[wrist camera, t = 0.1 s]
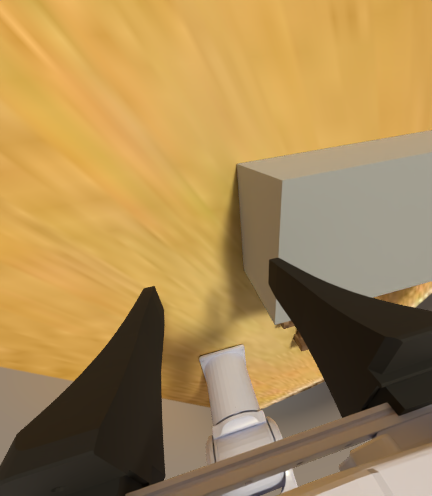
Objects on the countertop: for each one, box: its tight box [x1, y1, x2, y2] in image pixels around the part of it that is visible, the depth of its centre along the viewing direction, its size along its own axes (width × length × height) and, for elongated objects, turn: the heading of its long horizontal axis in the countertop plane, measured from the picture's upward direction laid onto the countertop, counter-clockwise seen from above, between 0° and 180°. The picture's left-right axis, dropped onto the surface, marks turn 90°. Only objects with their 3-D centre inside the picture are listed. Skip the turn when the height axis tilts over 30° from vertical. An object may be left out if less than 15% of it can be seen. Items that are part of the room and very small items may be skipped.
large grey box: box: [237, 131, 432, 325], centre depth 19 cm, size 13×22×9 cm, turn 98°
